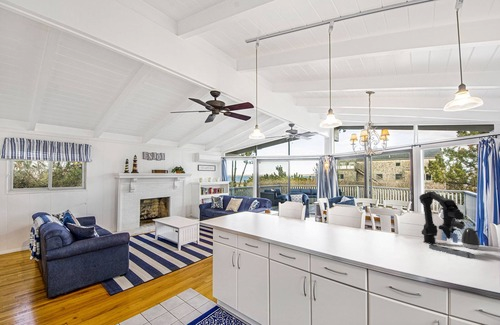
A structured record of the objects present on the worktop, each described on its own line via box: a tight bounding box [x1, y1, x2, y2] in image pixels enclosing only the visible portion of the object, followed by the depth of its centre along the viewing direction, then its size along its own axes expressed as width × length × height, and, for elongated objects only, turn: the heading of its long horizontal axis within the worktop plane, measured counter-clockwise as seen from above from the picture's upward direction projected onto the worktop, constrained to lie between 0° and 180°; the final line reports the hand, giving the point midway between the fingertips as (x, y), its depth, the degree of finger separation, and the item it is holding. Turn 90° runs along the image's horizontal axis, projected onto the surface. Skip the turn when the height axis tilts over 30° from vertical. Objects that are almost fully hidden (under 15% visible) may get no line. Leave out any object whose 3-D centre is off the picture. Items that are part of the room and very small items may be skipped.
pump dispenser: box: [461, 227, 481, 250], centre depth 168 cm, size 10×10×15 cm
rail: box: [428, 243, 475, 260], centre depth 157 cm, size 24×6×2 cm, turn 30°
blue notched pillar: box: [441, 231, 459, 244], centre depth 158 cm, size 8×3×6 cm, turn 30°
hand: (449, 238), depth 158 cm, fingers closed on blue notched pillar, 3 cm apart
